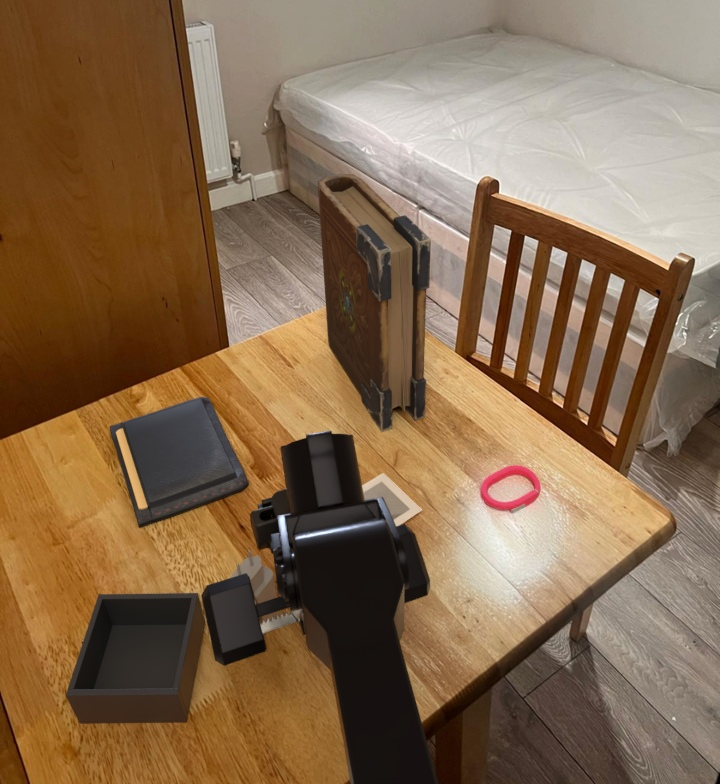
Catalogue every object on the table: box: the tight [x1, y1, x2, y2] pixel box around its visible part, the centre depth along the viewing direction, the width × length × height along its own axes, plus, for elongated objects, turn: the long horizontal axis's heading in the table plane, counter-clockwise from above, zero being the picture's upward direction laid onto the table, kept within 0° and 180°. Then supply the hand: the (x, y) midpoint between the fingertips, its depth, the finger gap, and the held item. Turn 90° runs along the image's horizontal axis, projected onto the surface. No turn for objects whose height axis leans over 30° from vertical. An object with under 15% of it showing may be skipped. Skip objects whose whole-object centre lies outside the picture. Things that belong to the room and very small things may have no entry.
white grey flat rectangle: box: [362, 472, 423, 526], centre depth 90 cm, size 8×15×2 cm, turn 127°
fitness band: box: [480, 464, 541, 514], centre depth 94 cm, size 8×6×2 cm
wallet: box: [109, 396, 250, 529], centre depth 101 cm, size 20×2×15 cm
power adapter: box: [229, 549, 280, 622], centre depth 77 cm, size 3×5×12 cm, turn 149°
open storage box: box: [65, 592, 206, 724], centre depth 75 cm, size 11×11×6 cm
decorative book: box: [317, 173, 432, 433], centre depth 106 cm, size 23×7×30 cm, turn 24°
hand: (305, 598), depth 69 cm, fingers open, 9 cm apart
